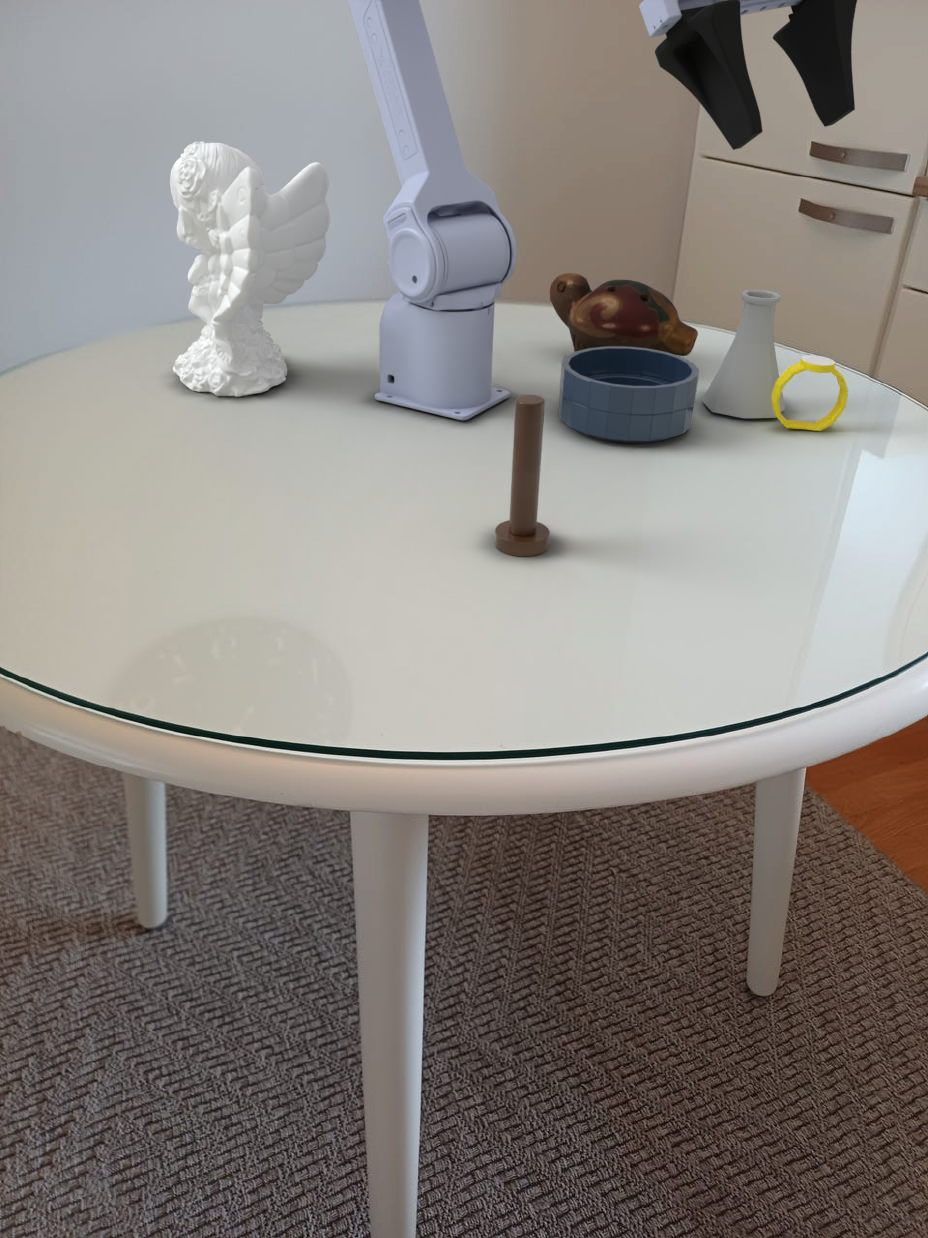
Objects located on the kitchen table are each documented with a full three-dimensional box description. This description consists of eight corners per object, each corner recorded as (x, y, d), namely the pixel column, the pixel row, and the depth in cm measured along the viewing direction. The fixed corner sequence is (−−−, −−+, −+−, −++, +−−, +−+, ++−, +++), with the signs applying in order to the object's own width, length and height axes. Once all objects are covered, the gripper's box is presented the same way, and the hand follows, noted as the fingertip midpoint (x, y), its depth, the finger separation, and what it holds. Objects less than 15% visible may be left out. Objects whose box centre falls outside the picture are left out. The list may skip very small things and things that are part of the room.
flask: (786, 425, 93) (808, 307, 88) (701, 417, 94) (717, 300, 89) (782, 398, 99) (803, 286, 94) (702, 391, 100) (718, 280, 95)
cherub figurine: (233, 347, 108) (215, 127, 98) (342, 366, 104) (335, 139, 94) (148, 384, 98) (118, 143, 88) (265, 407, 93) (248, 156, 83)
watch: (771, 432, 91) (783, 363, 88) (764, 421, 94) (775, 353, 91) (842, 435, 91) (857, 365, 88) (833, 423, 94) (847, 355, 91)
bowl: (534, 428, 91) (538, 370, 88) (593, 393, 99) (598, 338, 96) (659, 458, 86) (666, 397, 83) (710, 418, 94) (718, 361, 91)
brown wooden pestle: (484, 547, 72) (490, 401, 66) (511, 527, 74) (519, 385, 69) (532, 561, 70) (542, 413, 65) (558, 541, 73) (569, 396, 68)
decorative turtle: (553, 338, 114) (564, 259, 110) (696, 366, 110) (713, 286, 106) (527, 359, 105) (538, 274, 102) (680, 390, 102) (698, 304, 98)
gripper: (660, -132, 57) (747, 117, 58) (853, -154, 63) (929, 73, 64) (592, -47, 64) (672, 175, 65) (773, -74, 70) (843, 131, 71)
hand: (794, 129), depth 65 cm, fingers open, 7 cm apart
